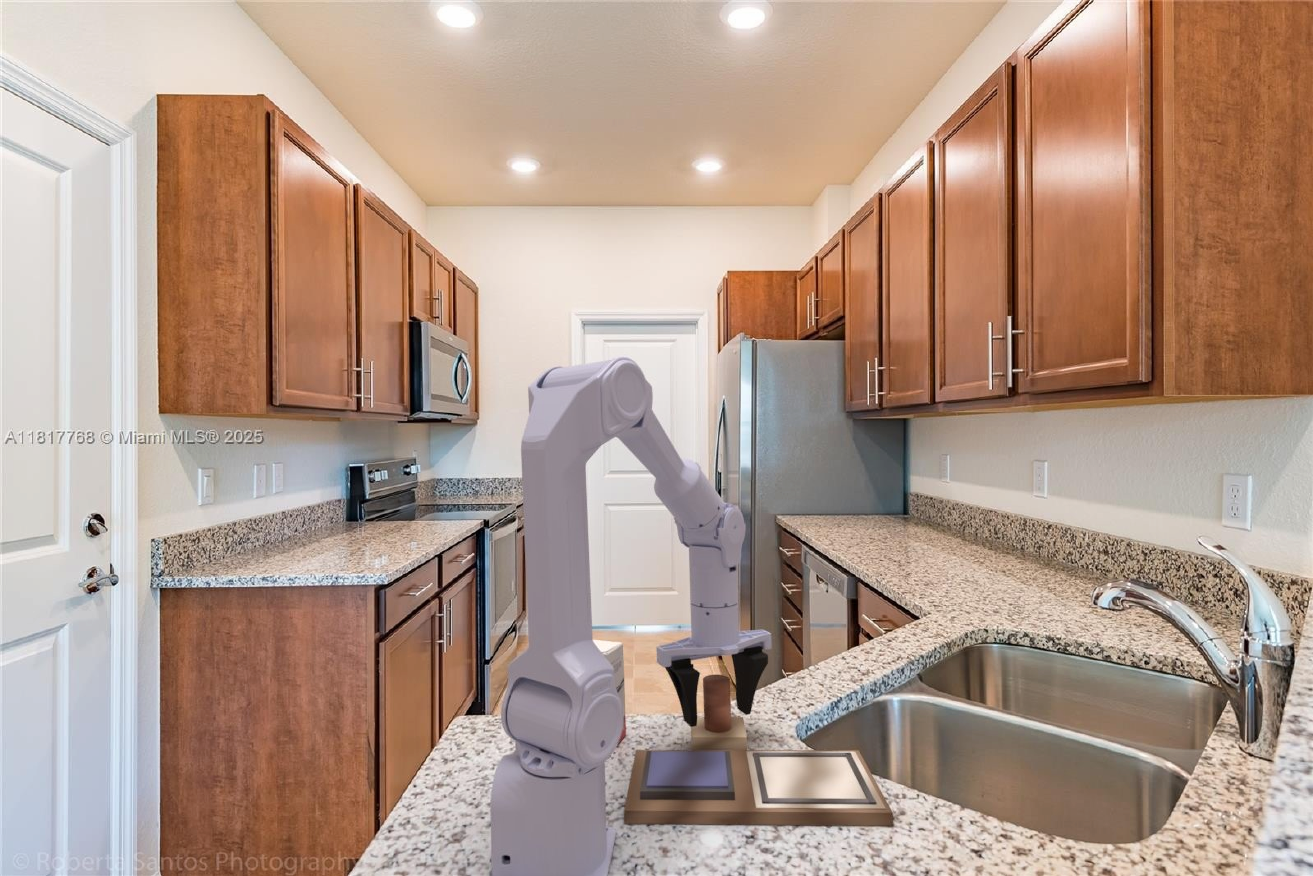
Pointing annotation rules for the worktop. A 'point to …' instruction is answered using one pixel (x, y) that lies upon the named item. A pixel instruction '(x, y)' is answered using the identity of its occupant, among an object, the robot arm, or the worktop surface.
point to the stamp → (718, 719)
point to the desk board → (754, 788)
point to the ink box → (615, 670)
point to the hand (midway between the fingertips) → (717, 717)
